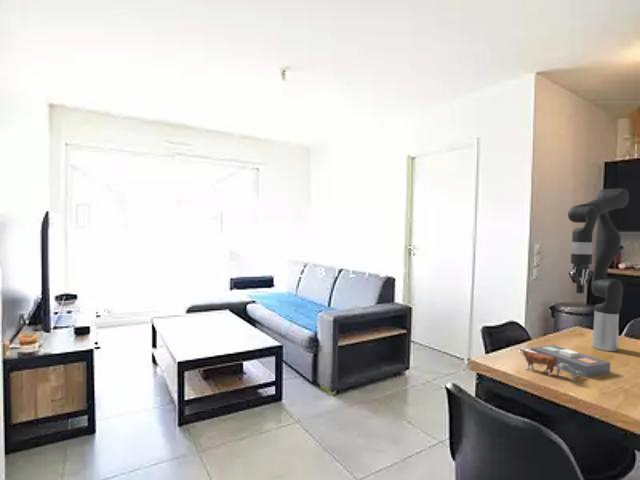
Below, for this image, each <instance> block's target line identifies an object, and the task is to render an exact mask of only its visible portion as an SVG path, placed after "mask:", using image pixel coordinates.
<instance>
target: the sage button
mask: <svg viewBox="0 0 640 480" xmlns="http://www.w3.org/2000/svg"><path fill="white" fill-rule="evenodd" d="M543 349H546V350H549V351H552V352H555V351H559V349H556V348H553V347H543Z"/></svg>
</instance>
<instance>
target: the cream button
mask: <svg viewBox="0 0 640 480" xmlns="http://www.w3.org/2000/svg"><path fill="white" fill-rule="evenodd" d="M579 353H580V352H578V351H575V350H572V349H569V348H565V349H564V350H559V354H561V355H564V356H567V357H570V358H572V357H579Z"/></svg>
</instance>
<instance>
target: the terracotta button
mask: <svg viewBox="0 0 640 480" xmlns="http://www.w3.org/2000/svg"><path fill="white" fill-rule="evenodd" d="M577 360H579V361H582V362H585V363H588V364H595V363H598V362H597V361H593V360H590V359H587V358H582V359H577Z"/></svg>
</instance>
